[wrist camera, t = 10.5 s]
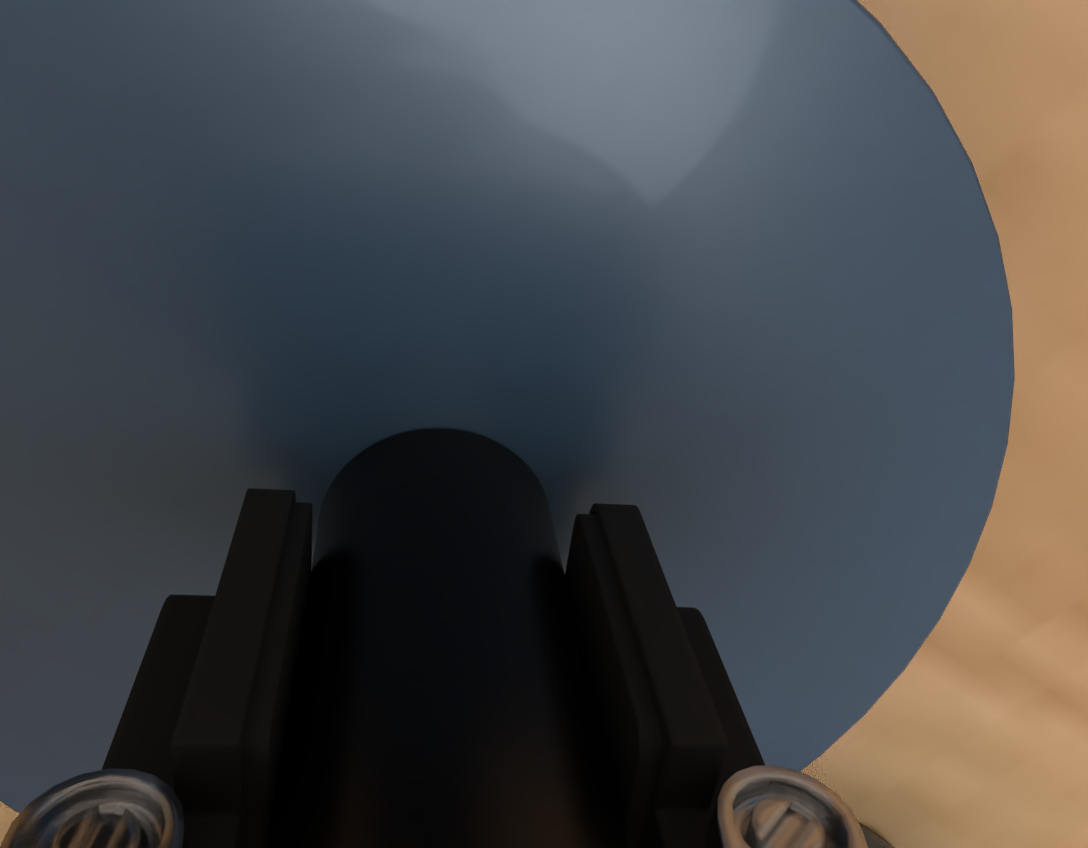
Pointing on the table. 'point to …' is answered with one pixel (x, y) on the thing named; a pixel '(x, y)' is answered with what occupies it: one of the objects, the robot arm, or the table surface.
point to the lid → (482, 372)
